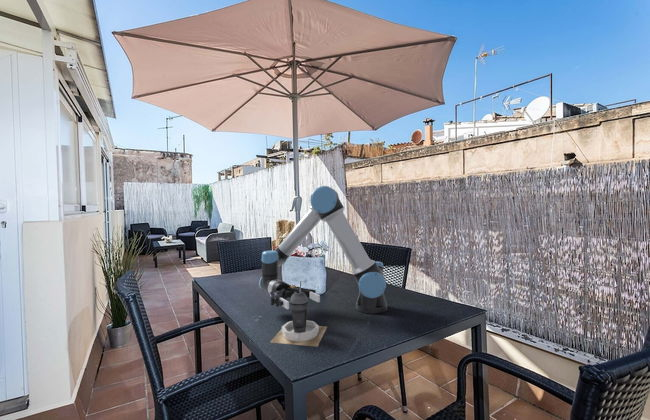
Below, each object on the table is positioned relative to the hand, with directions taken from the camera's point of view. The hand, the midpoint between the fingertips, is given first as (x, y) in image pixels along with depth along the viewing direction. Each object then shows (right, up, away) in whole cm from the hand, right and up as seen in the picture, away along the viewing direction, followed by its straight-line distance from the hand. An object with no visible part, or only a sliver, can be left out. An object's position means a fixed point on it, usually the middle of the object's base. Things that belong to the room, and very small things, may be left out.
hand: (304, 302), depth 118 cm
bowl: (-2, -13, +3) cm, 14 cm away
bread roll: (-10, -13, +62) cm, 64 cm away
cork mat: (-2, -14, +3) cm, 14 cm away
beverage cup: (-2, -13, +3) cm, 13 cm away
